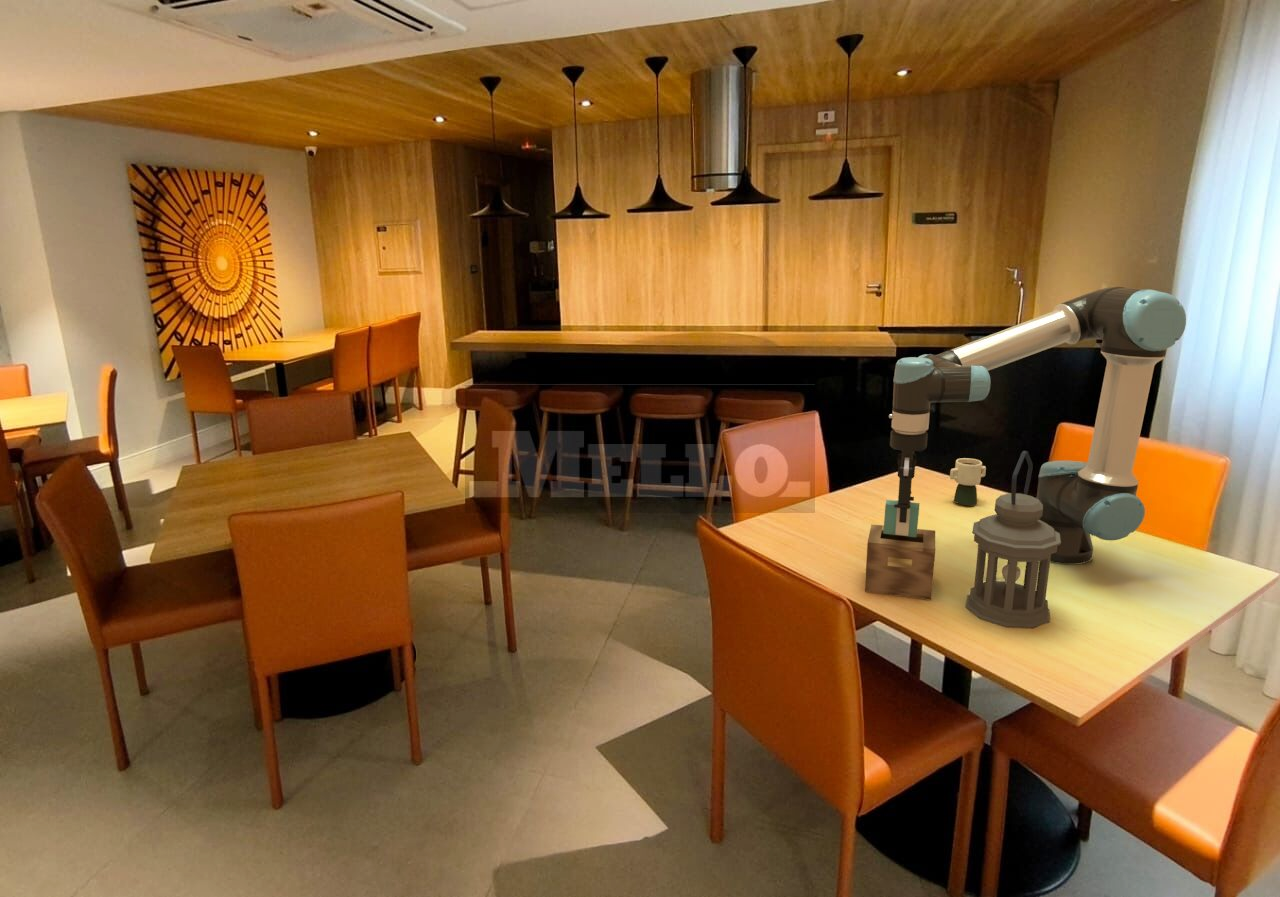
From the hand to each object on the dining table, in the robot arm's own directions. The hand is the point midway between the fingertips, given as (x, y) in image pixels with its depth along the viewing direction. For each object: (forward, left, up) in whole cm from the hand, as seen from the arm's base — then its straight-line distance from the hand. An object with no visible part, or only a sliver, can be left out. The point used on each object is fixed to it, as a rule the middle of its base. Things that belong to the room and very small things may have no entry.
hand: (902, 531), depth 168 cm
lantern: (-22, +5, -13) cm, 26 cm away
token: (0, 0, 0) cm, 1 cm away
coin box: (0, 0, -13) cm, 13 cm away
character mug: (-16, -60, -13) cm, 64 cm away
